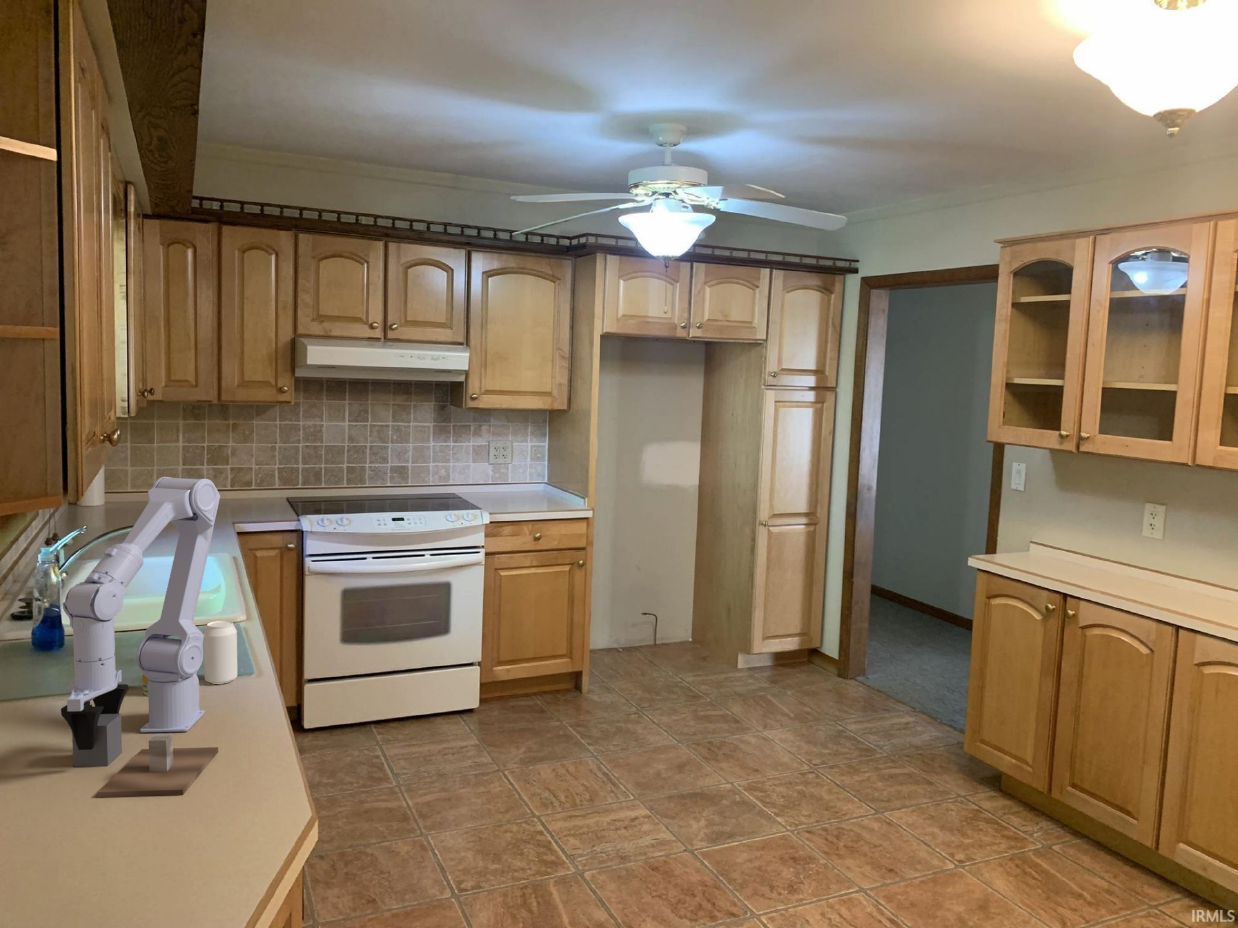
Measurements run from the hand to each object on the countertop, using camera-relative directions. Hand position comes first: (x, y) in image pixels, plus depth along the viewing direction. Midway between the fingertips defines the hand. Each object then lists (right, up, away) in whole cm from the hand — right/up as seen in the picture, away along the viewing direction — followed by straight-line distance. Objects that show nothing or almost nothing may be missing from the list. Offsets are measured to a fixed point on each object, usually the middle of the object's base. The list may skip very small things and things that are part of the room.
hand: (97, 739), depth 148 cm
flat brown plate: (+13, -4, -4) cm, 14 cm away
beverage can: (+3, 0, +40) cm, 40 cm away
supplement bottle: (-7, -1, +33) cm, 33 cm away
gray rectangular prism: (0, -3, 0) cm, 3 cm away
